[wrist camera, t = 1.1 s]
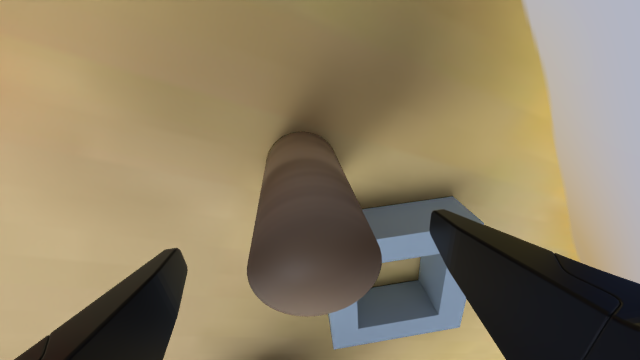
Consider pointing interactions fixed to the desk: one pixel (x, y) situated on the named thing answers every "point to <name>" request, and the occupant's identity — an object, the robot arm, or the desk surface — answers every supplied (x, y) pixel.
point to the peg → (310, 232)
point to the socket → (409, 297)
